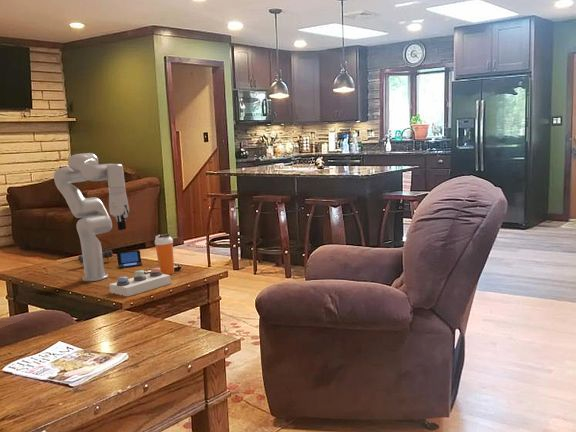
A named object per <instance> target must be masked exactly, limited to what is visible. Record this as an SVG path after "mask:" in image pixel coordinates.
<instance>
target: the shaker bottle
mask: <svg viewBox="0 0 576 432" xmlns="http://www.w3.org/2000/svg"><path fill="white" fill-rule="evenodd" d="M173 243H174V239H173V238H172V237H171V233H165V234H161V233H159V234H157V235H155V240H154V245H155V251H156V255H157V256H156V257H157V262H158V268H160V271H161V272H162V274H166V275H170V276H171V275H173V274H174V273H175V260H174V246H173Z"/></svg>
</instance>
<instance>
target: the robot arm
mask: <svg viewBox="0 0 576 432" xmlns="http://www.w3.org/2000/svg"><path fill="white" fill-rule="evenodd" d="M67 165H68V166H64V167H60V168H57V169H56V170H55V171H54V173H53V179H54V184H55V186H56V188H57V190H58V191H59V192H60V194H61V195H62V196H63V198H64V199H65V201H66V203H67V205H68V207H69V209H70V212H71V213H72V215H73V216H74V217H75V218H76V219H79V220H78V221H77V222H76V230H77V233H78V236H79V242H80V248H81V255H82V256H83V263H82V264H83V272H82V273H83V274H84V276H82V281H83V282H95V281H102V280H106V279H107V278H108V277H109V274H108V273H105V265H104V258H103V256H102V252H103V250H102V243H101V241H100V240H99V238H98V237H97V235H101V234H105V233H109V232H111V231H112V228H113V221H112V219H111V216H112V217H114V218H115V220H116V222H117V224H116V225H117V230H119V231H123V230H126V229H127V227H126V218H129V214H130V206H129V200H128V196H127V190H126V180H125V171H124V166H123V164H121V163H100V164H99V157H97V155H96V154H94V153H93V152H87V153H75V154H73V155H70V156H69V157H68V160H67ZM86 181H90V182H100V181H107V185H108V193H109V194H108V209H109V210H108V211H109V212H108V211H107V208H106V207H105V204H104V203H103V202H102V200H101V199H100V198H99V197H96V196H94V197H93V196H92V197H85V196H84V195H83V193H82V191H81V190H80V189H79V188H78V187H77V186H75V185H73V183H81V182H82V183H83V182H86ZM109 214H110V215H111V216H110V215H109Z"/></svg>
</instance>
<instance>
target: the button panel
mask: <svg viewBox="0 0 576 432" xmlns="http://www.w3.org/2000/svg"><path fill="white" fill-rule="evenodd" d="M170 284H172V279H171V274H170V275H166V274H162V272H161V271H160V272H158V273H151V272H148V273H144V275H141V276H133V277H130V278H128V281H126V282H118V281H116V282H112V283H109V284H108V285H109V287H108V288H109V293H110V294H113V293H115V294H114V295H118V294H119V295H118V296H122V295H123V297H126V296H127V297H131V296H134V295H138V294H142V293H144V292H148V291H150V290H155V289H157V288H161V287H165V286H168V285H170Z"/></svg>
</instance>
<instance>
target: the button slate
mask: <svg viewBox="0 0 576 432" xmlns="http://www.w3.org/2000/svg"><path fill="white" fill-rule="evenodd" d="M128 279H129V277H128V276H126V275H125V276H119V277H117V282H126V281H128Z"/></svg>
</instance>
